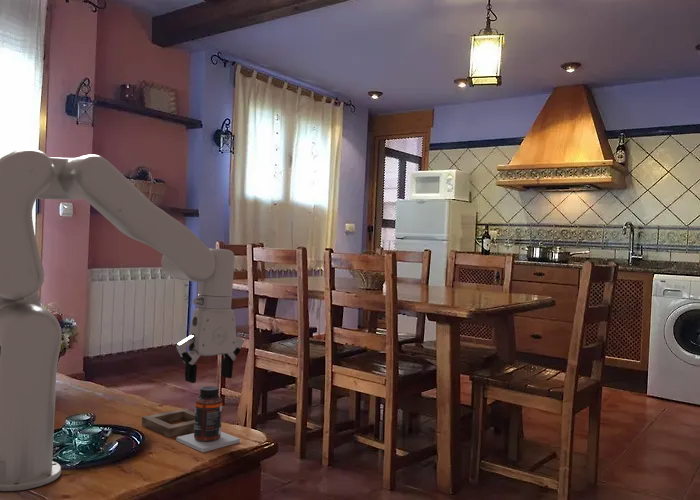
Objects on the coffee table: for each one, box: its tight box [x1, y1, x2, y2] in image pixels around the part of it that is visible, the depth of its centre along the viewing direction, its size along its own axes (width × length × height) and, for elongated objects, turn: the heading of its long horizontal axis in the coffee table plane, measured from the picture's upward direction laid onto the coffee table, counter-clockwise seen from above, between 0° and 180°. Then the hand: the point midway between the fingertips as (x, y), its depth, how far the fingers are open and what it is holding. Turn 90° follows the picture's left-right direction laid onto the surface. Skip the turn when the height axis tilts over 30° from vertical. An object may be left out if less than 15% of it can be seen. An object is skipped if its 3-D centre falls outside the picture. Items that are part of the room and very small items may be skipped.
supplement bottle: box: [193, 385, 223, 441], centre depth 131 cm, size 6×6×11 cm
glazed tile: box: [175, 430, 241, 453], centre depth 132 cm, size 10×10×1 cm
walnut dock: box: [141, 407, 195, 438], centre depth 141 cm, size 12×12×2 cm
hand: (208, 379), depth 131 cm, fingers open, 9 cm apart
